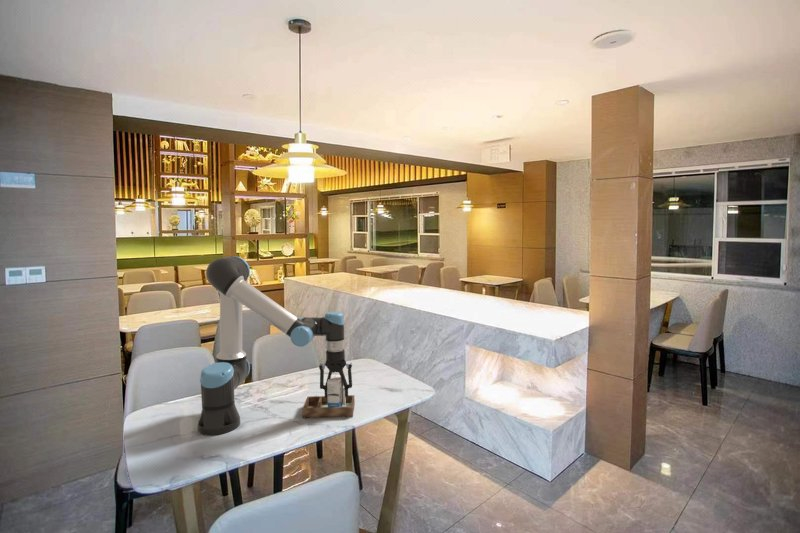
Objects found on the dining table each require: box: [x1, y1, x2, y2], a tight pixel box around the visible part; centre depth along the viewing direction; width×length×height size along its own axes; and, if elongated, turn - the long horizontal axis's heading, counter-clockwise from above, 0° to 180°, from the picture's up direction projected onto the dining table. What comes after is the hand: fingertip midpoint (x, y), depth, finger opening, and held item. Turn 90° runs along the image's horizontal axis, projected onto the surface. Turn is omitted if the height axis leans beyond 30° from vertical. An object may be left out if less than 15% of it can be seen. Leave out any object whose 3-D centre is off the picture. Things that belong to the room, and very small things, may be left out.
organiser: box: [301, 394, 356, 419], centre depth 182 cm, size 20×13×4 cm, turn 93°
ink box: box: [326, 373, 344, 407], centre depth 181 cm, size 9×5×12 cm, turn 169°
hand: (336, 404), depth 182 cm, fingers closed on ink box, 6 cm apart
